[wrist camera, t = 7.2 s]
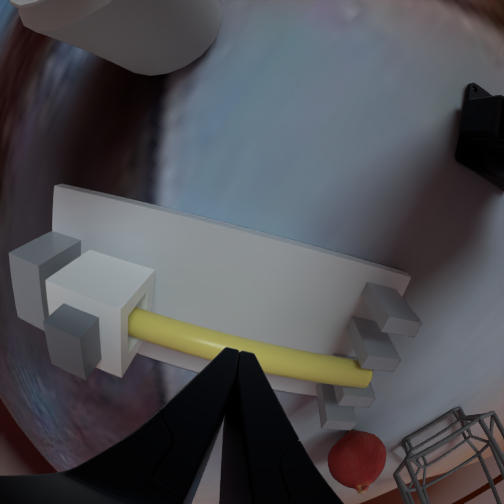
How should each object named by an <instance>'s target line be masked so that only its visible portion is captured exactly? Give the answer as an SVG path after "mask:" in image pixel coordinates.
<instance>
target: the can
mask: <svg viewBox="0 0 504 504" xmlns="http://www.w3.org/2000/svg"><path fill="white" fill-rule="evenodd" d="M10 3H11V5H13V6H16V7H18V8H19V15H20V17H21V20H22V22H23V24H24V26H26V27H28V28H30V29H32V30H34V31H35V32H38V33H41V34H44V35H47V36H49V37H52V38H55V39H58V40H60V41H63V42H65V43H68V44H71V45H73V46H76V47H78V48H81V49H83V50H85V51H88V52H90V53H92V54H95V55H97V56H99V57H102V58H104V59H106V60H108V61H111V62H113V63H115V64H117V65H119V66H121V67H123V68H126V69H128V70H130V71H132V72H134V73H138V74H144V75H149V76H151V75H159V74H168V73H170V72H173V71H175V70H178V69H180V68H183V67H186V66H187V65H188V64H190V63H191V62H193V61H194V60H196V59H197V58H199V57H200V56H202V55H203V53H204V52H205V51H206V50H207V49H208V48H209V47H210V45H211V44H212V43H213V42H214V41H215V38H216V36H217V34H218V32H219V30H220V28H221V22H222V9H221V6H220V3H219V1H218V0H10Z"/></svg>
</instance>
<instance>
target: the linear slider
mask: <svg viewBox="0 0 504 504" xmlns="http://www.w3.org/2000/svg"><path fill="white" fill-rule="evenodd" d="M89 250H92V251H95V252H98V253H102V254H105V255H108V256H111V257H114V258H118V259H121V260H124V261H128V262H131V263H134V264H138V265H141V266H144V267H148V268H151V269H155V276H154V285H153V295H152V305H151V312H150V311H147V310H144V309H141V308H138V307H135V308H134V309H133V310H132V311H131V313H130V314H129V315H128V335H129V336H132V337H135V338H138V339H141V340H144V341H143V343H142V345H141V346H140V348H139V350H138V351H137V353H138V354H141V355H144V356H147V357H150V358H153V359H156V360H159V361H162V362H165V363H168V364H172V365H175V366H178V367H182V368H185V369H189V370H192V371H196V372H200V371H201V370H202V369H203V368H205V367H206V366H207V365H208V364H209V363H210V362H211V361H212V360H213V359H214V358H215V357H216V356H217V355H218V354H219V353H220V352H221V351H222V350H223V349H224V348H225V347H229V348H234V349H238V350H239V353H240V351H247V352H251V353H254V354H255V356H256V358H257V360H258V362H259V364H260V365H261V367H262V369H263V371H264V373H265V375H266V377H267V379H268V381H269V383H270V385H271V387H272V389H274V390H280V391H286V392H292V393H298V394H304V395H311V396H317V400H318V407H319V414H320V421H321V428H324V429H338V430H352V428H353V427H354V426H355V425H356V423H357V419H356V415H355V411H354V407H366V408H369V407H370V405H371V404H372V402H373V401H374V400H375V395H374V392H373V389H372V386H371V383H370V381H371V379H372V374H373V370H379V371H387V372H394V370H395V369H396V367H397V366H398V364H399V362H400V361H401V359H400V357H399V355H398V353H397V351H396V349H395V348H394V346H393V344H392V342H391V340H390V338H389V336H388V335H387V333H391V334H397V335H403V336H408V337H415V336H416V334H417V332H418V330H419V328H420V327H421V325H422V322H421V321H420V320H419V318H418V317H417V316H416V314H415V313H414V312H413V310H412V309H411V308H410V306H409V305H408V304H407V303H406V301H405V300H404V299H403V295H404V293H405V290H406V288H407V286H408V284H409V281H410V279H411V277H410V276H409V275H408V274H407V273H406V272H405V271H401V270H398V269H394V268H391V267H388V266H384V265H381V264H377V263H374V262H370V261H367V260H363V259H360V258H356V257H353V256H349V255H345V254H342V253H338V252H335V251H331V250H328V249H324V248H320V247H317V246H313V245H309V244H306V243H302V242H298V241H295V240H291V239H287V238H283V237H280V236H276V235H272V234H268V233H265V232H261V231H257V230H253V229H249V228H245V227H242V226H238V225H234V224H230V223H226V222H222V221H218V220H214V219H210V218H206V217H202V216H198V215H194V214H190V213H186V212H182V211H178V210H174V209H170V208H166V207H162V206H157V205H153V204H149V203H145V202H141V201H136V200H132V199H128V198H124V197H119V196H115V195H111V194H106V193H102V192H97V191H93V190H89V189H84V188H80V187H75V186H71V185H66V184H59V185H55V186H54V198H53V221H52V231H51V232H49V233H47V234H45V235H43V236H41V237H39V238H37V239H35V240H33V241H31V242H29V243H27V244H25V245H23V246H21V247H19V248H17V249H15V250H14V251H12V252H10V253H9V259H10V269H11V277H12V285H13V291H14V297H15V303H16V309H17V314H18V317H19V318H21V319H23V320H25V321H27V322H28V323H30V324H32V325H34V326H36V327H38V328H40V329H42V330H43V331H45V330H44V324H43V321H44V320H45V319H46V318H47V317H49V310H48V302H47V293H46V282H45V280H46V279H48V278H49V277H50V276H52V275H53V274H55V273H56V272H58V271H59V270H60V269H62V268H63V267H65V266H66V265H68V264H69V263H71V262H72V261H74V260H75V259H77V258H78V257H80V256H81V255H83V254H84V253H86V252H87V251H89Z"/></svg>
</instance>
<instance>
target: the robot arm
mask: <svg viewBox="0 0 504 504" xmlns="http://www.w3.org/2000/svg"><path fill="white" fill-rule="evenodd" d="M473 88H474V91H475V92H474V91H473ZM461 154H462V155H463V158H462V159H461ZM455 158H456V161H457V162H458V163H460V164H461V165H463V166H465V167H467V168H468V169H470V170H472V171H473V172H475V173H477V174H478V175H480V176H481V177H483V178H485V179H486V180H488V181H489V182H491V183H492V184H494V185H495V186H497V187H498V188H500V189H501V190H503V191H504V96H502V95H496V96H492V95H490V94H489V93H488V92H487V91H485V90H484V89H482V88H481V87H480V86H478V85H477V84H475V83H470V84H468V86H467V93H466V100H465V103H464V109H463V115H462V121H461V126H460V135H459V139H458V144H457V149H456V153H455ZM224 416H225V417H224ZM223 419H224V426H223V443H222V461H221V480H220V500H219V504H344V503H343V502H342V501H341V500H340V498H339V497H338V496H337V495H336V493H335V492H334V491H333V490H332V488H331V487H330V486H329V485H328V483H327V482H326V481H325V479H324V478H323V477H322V475H321V474H320V472H319V471H318V470H317V468H316V467H315V465H314V464H313V462H312V460H311V459H310V457H309V455H308V454H307V452H306V450H305V449H304V447H303V445H302V443H301V441H298V440H299V438H298V436H297V434H296V432H295V431H294V429H293V427H292V425H291V423H290V421H289V419H288V418H287V416H286V414H285V412H284V410H283V408H282V406H281V404H280V402H279V401H278V399H277V397H276V395H275V393H274V391H273V389H272V387H271V385H270V383H269V381H268V379H267V377H266V375H265V373H264V371H263V369H262V367H261V365H260V364H259V362H258V360H257V358H256V356H255V354H254V353H251V352H247V351H240V353H239V350H238V349H234V348H229V347H225V348H224V349H223V350H222V351H221V352H220V353H219V354H218V355H217V356H216V357H215V358H214V359H213V360H212V361H211V362H210V363H209V364H208V365H207V366H206V367H205V368H203V369H202V370H201V371H200V372H199V373H198V374H197V375H196V376H195V377H194V378H193V379H192V380H191V381H190V382H189V383H188V384H187V385H186V386H185V387H184V388H183V389H181V390H180V391H179V392H178V393H177V394H176V395H175V396H174V397H173V398H172V399H171V400H170V401H169V402H168V403H166V404H165V405H164V406H163V407H162V408H161V409H160V410H159V412H156V413H155V414H154V415H153V416H152V417H151V418H150V419H149V420H148V421H146V422H145V423H144V424H143V425H142V426H140V427H139V428H138V429H137V430H135V431H134V432H133V433H131V434H130V435H128V436H127V437H125V438H124V439H122V440H121V441H119V442H118V443H116V444H115V445H113V446H111V447H110V448H108V449H106V450H105V451H103V452H101V453H100V454H98V455H96V456H95V457H93V458H91V459H90V460H88V461H86V462H84V463H83V464H81V465H79V466H77V467H75V468H72V469H70V470H67V471H63V472H59V473H52V474H40V475H20V476H0V504H191V503H192V501H193V498H194V496H195V493H196V491H197V488H198V486H199V483H200V481H201V478H202V476H203V473H204V470H205V468H206V465H207V463H208V460H209V457H210V455H211V452H212V449H213V447H214V444H215V441H216V439H217V436H218V433H219V431H220V428H221V425H222V422H223Z"/></svg>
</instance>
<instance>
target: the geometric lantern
mask: <svg viewBox="0 0 504 504" xmlns="http://www.w3.org/2000/svg"><path fill="white" fill-rule="evenodd" d="M457 410H459V411H460V414H461V417H459V416H458V414H457V413H456V411H457ZM451 413H453V414H454V415H455V417H456V419H457V421H455V422H454V423H452V424H451V425H449V426H448V427H446V428H445V429H443V430H442V431H440V432H439V433H437V434H436V435H434V436H432V437H431V438H429V439H427V440H426V441H424V442H422V443H421V444H419V445H417V446H415V447H414V448H413V447H412V445H411V443H410V441H409V439H410V438H411V437H413V436H415V435H417V434H419V433H420V432H422V431H424V430H425V429H427V428H429V427H431V426H432V425H434V424H435V423H437V422H439V421H440V420H442V419H443V418H445V417H446V416H448V415H450V414H451ZM489 416H491V420H490V430H489V429H488V427H487V425H486V424H485V422H484V420H483V419H484V418H487V417H489ZM476 417H477V418H476ZM460 421H463V425H464V426H463V427H462V428H460V429H459V430H457V431H455V432H454V433H452V434H451V435H449V436H447V437H446V438H444V439H442V440H441V441H439V442H437V443H435V444H434V445H432V446H430V447H428V448H426V449H424V450H423V451H421V452H419V453H417V454H415V455H414V454H413V453H412V451H413V450H415V449H417V448H419V447H421V446H422V445H424V444H426V443H427V442H429V441H431V440H432V439H434V438H436V437H437V436H439V435H440V434H442V433H444V432H445V431H447V430H448V429H450V428H451V427H453V426H454V425H456V424H457V423H458V422H460ZM468 421H471V422H469V423H468ZM494 421H495V423H496V425H497V427H498V429H499V430H500V432H501V434H502V436H503V439H504V428H503V426H502V424H501V422H500V420H499V418H498V416H497V415H496V413H495V411H490V412H488V413H483V414H476V415H468V416H466V415H465V414H464V412H463V410H462V408H461V407H458V408H455V409H452V410H451V411H449V412H448V413H446V414H445V415H443V416H442V417H440V418H438V419H437V420H435V421H434V422H432V423H430V424H429V425H427V426H425V427H424V428H422V429H420V430H418V431H417V432H415V433H413V434H411V435H410V436H408V437H406V438H405V439H404V441H403V443H402V446H404V449H405V452H406V457H405V458H404V460H403V462H402V463H401V464H400V466H399V467H398V468H397V469H396V471H395V472H394V474H393V476H394V479H395V481H396V483H397V486H398V488H399V491H400V493H401V496H402V498H403V501H404V504H414V501H413V499H412V496H411V494H410V492H413V491H417V494H418V496H419V498H420V501H421V504H430V501H429V498H428V495H427V492H426V489H425V488H426V487H428V486H429V485H432V484H434V483H436V482H437V481H439V480H441V479H443V478H445V477H446V476H448V475H450V474H451V473H453V472H455V471H456V470H458V469H459V468H461V467H463V466H464V465H466V464H467V463H469V462H470V461H472V460H473V459H475V458H476V457H478V458H479V461H480V463H481V465H482V467H483V470H484V472H485V474H486V477H487V479H488V482H489V484H490V486H491V489H492V492H493V494H494V497H495V499H496V502H497V504H502V503H501V501H500V498H499V496H498V493H497V490H496V488H495V486H494V483H493V481H492V478H491V476H490V474H489V471H488V469H487V467H486V465H485V463H484V460H483V458H482V456H481V453H482V452H483V451H484V450H485V449H486V448H487V447H488V446H490V448H491V451H492V453H493V455H494V457H495V460H496V462H497V465H498V467H499V469H500V472H501V474H502V477H503V479H504V468H503V467H504V455H503V453H502V451H501V449H500V447H499V446H498V444H497V442H496V440H495V439H494V437H493V427H494ZM477 422H479V424H480V425H481V427H482V429H483V430H484V432H485V434H486V435H487V437H488V439H489V440H485V439H482V438H479V437H476V436H473V435H472V434H471V430H470V427H471V426H472V425H474V424H475V423H477ZM465 430H467V432H468V434H469V436H468V437H466V435H465V433H464V431H465ZM461 433H462V435H463V437H464V439H465V440H464V441H462V442H461V443H459V444H458V445H457V446H455V447H454V448H452V449H451V450H449V451H448V452H446V453H445V454H443V455H442V456H440V457H438V458H437V459H435V460H434V461H432V462H430V463H429V464H427V462H426V459H425V457H424V456H425V455H427V454H429V453H430V452H432V451H434V450H436V449H437V448H439V447H441V446H442V445H444V444H446V443H447V442H449V441H450V440H452V439H454V438H455V437H457V436H458V435H460V434H461ZM470 437H471V438H474V439H476V440H479V441H482V442H485V443H487V444H486V445H485V446H484V447H483V448H482V449H481V450H480V451H478V450H477V449H476V447H475V446H474V445H473V444H472V443H471V442H470V440H469V438H470ZM406 441H407V443H408V445H409V447H410V449H409V448H408V447H407V445H406V444H405V443H406ZM466 441H467V442H468V443H469V445H470V446H471V447H472V448H473V449H474V450H475V452H476V453H477V454H475V455H474V456H472V457H471V458H469V459H468V460H466V461H465V462H463V463H462V464H460V465H459V466H457V467H455V468H454V469H452V470H450V471H449V472H447V473H445V474H444V475H442V476H440V477H438V478H437V479H435V480H433V481H431V482H429V483H428V484H426V485H425V478H426V467H428V466H430V465H431V464H433V463H435V462H436V461H438V460H439V459H441V458H442V457H444V456H446V455H447V454H449V453H450V452H452V451H453V450H455V449H456V448H457V447H459V446H460V445H462V444H463V443H464V442H466ZM420 457H422V459H423V461H424V464H425V465H423V466H421V464H420V462H419V459H418V458H420ZM415 459H416V460H415ZM410 461H413V462H414V463H415V464H416V465H417V466H418V467H419V468H418V470H417V472H416V474H415V473H414V470H413V468H412V466H411V464H410ZM501 463H502V464H503V466H502V464H501ZM405 465H406V467H407V470H408V472H409V474H410V477H411V479H412V481H411V483H410V485H409V487H407V486H406V484H405V483H404V482H403V480H402V479H401V477H400V476H399V472H400V471H401V470H402V468H403V467H404V466H405ZM421 468H424V472H423V484H422V487H420V484H419V482H418V480H417V475H418V473H419V471H420V469H421ZM412 484H414V487H415V488H411V486H412ZM410 488H411V489H410ZM406 494H407V495H406Z"/></svg>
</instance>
